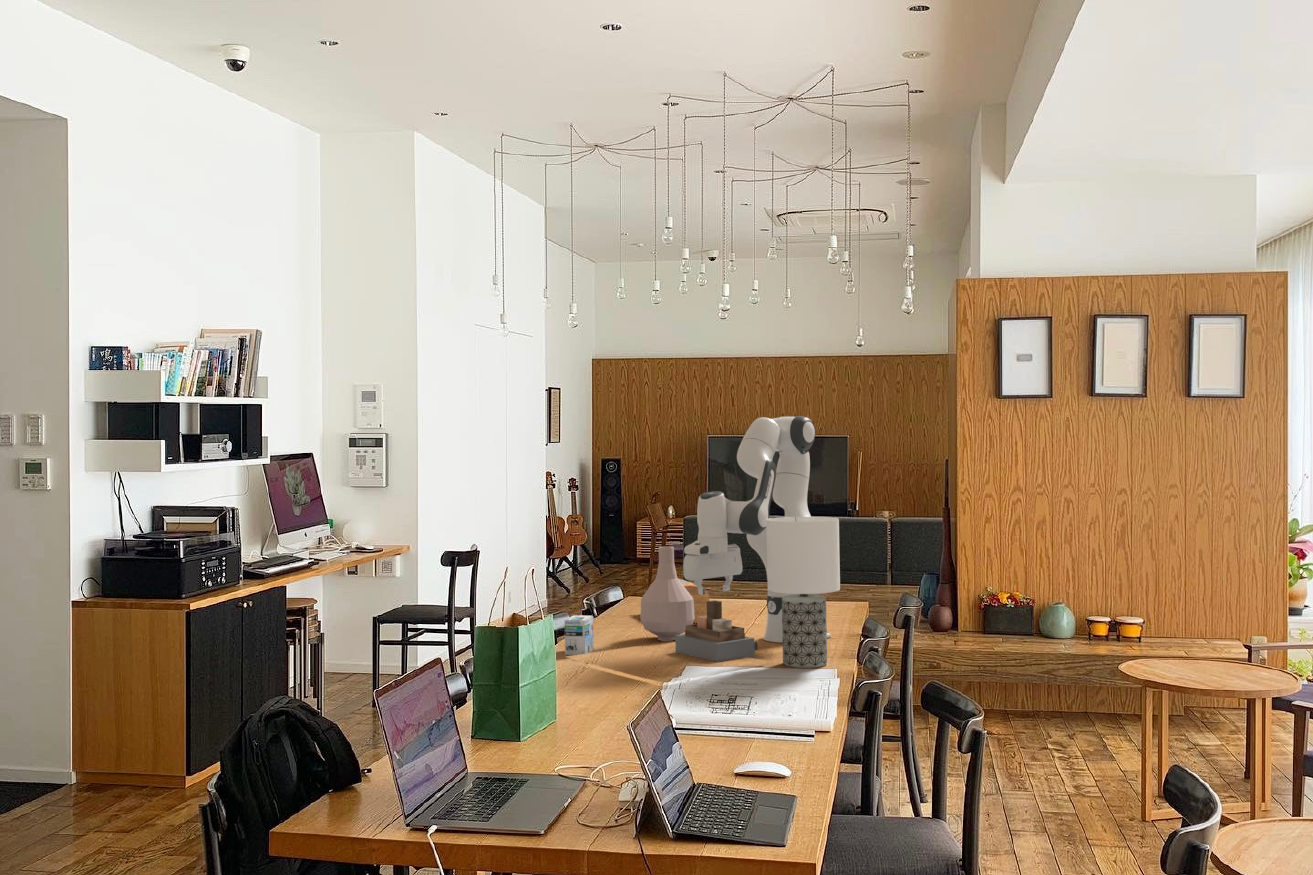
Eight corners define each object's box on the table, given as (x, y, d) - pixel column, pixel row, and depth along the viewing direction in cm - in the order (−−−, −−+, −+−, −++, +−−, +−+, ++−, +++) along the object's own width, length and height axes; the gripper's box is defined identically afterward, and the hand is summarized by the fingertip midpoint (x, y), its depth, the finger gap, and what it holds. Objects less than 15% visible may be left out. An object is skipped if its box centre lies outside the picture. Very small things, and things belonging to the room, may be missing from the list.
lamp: (848, 669, 327) (846, 520, 327) (775, 672, 325) (772, 522, 325) (832, 656, 347) (830, 515, 347) (763, 658, 346) (761, 517, 346)
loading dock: (714, 649, 363) (714, 629, 363) (757, 658, 347) (757, 637, 347) (675, 655, 354) (675, 635, 354) (717, 664, 338) (717, 643, 338)
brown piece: (710, 631, 359) (710, 597, 359) (745, 638, 346) (744, 602, 346) (685, 635, 353) (684, 600, 353) (718, 642, 340) (718, 605, 341)
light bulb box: (585, 655, 356) (585, 620, 356) (564, 655, 357) (563, 619, 357) (594, 649, 366) (593, 614, 366) (573, 649, 368) (573, 614, 368)
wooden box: (713, 623, 415) (713, 584, 415) (668, 626, 411) (667, 586, 411) (690, 611, 444) (689, 575, 444) (648, 614, 440) (647, 577, 440)
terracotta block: (707, 628, 356) (707, 615, 356) (716, 630, 352) (715, 617, 352) (697, 630, 353) (697, 616, 353) (705, 631, 350) (705, 618, 350)
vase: (673, 646, 370) (672, 550, 370) (629, 640, 380) (628, 548, 380) (705, 637, 384) (703, 546, 384) (662, 633, 394) (660, 543, 394)
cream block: (723, 631, 350) (722, 618, 350) (731, 633, 347) (731, 619, 347) (712, 633, 347) (712, 619, 347) (721, 634, 344) (721, 621, 344)
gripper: (732, 542, 359) (734, 587, 359) (679, 548, 346) (681, 595, 347) (746, 543, 353) (747, 589, 354) (692, 549, 341) (694, 597, 342)
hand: (714, 592), depth 350 cm, fingers open, 8 cm apart
